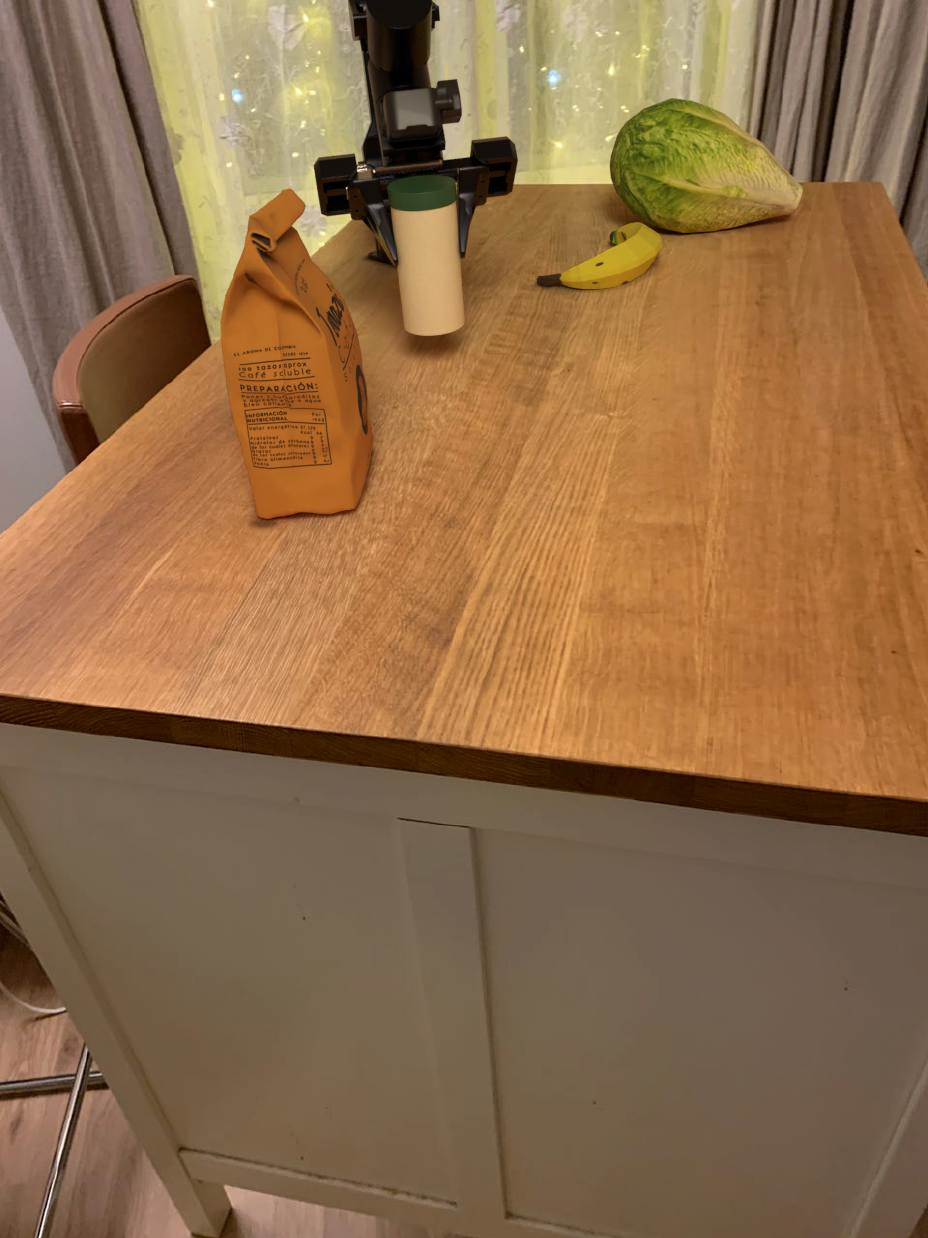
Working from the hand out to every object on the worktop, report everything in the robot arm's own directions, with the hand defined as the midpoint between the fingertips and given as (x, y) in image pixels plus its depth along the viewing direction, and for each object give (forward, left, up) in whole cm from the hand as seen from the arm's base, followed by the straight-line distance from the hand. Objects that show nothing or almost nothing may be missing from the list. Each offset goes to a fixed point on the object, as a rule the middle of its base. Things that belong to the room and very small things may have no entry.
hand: (429, 260), depth 91 cm
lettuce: (-5, +53, -11) cm, 54 cm away
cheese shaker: (-1, +1, -7) cm, 7 cm away
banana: (-6, +33, -11) cm, 35 cm away
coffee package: (+9, -22, -11) cm, 26 cm away
